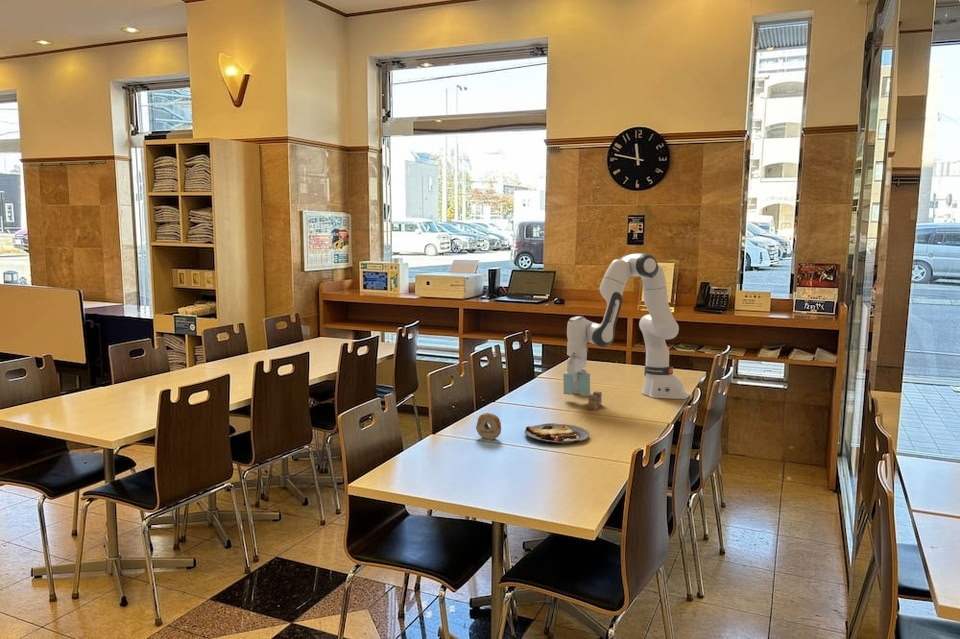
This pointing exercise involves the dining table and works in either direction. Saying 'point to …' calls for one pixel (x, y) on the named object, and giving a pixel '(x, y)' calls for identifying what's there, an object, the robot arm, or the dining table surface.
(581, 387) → the teal notched block
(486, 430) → the stone disc
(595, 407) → the brown notched block
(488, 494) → the dining table surface
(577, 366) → the robot arm
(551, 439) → the food plate
